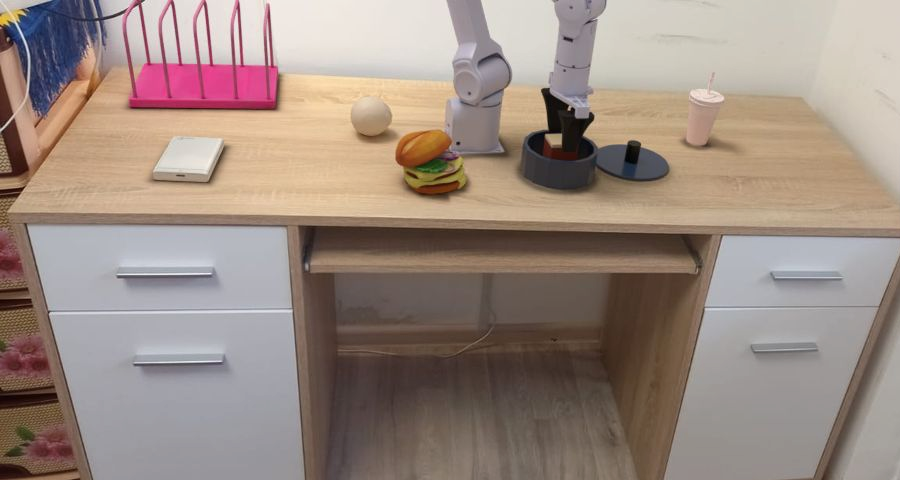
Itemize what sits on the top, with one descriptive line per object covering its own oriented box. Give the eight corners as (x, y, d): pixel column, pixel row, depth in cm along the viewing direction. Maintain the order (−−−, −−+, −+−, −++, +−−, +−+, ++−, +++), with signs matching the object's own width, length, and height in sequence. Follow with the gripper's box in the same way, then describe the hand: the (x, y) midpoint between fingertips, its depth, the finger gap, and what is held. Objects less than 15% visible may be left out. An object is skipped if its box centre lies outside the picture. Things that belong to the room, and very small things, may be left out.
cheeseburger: (459, 203, 129) (447, 144, 124) (395, 205, 132) (381, 148, 127) (474, 173, 138) (463, 117, 132) (413, 176, 140) (400, 122, 135)
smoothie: (716, 141, 158) (734, 71, 151) (708, 154, 153) (726, 82, 146) (683, 133, 160) (699, 63, 152) (674, 145, 155) (691, 73, 148)
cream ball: (394, 141, 146) (395, 105, 142) (352, 142, 144) (352, 106, 140) (389, 125, 151) (390, 90, 147) (348, 126, 149) (348, 90, 146)
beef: (547, 178, 138) (552, 144, 135) (540, 167, 142) (545, 133, 138) (573, 177, 140) (578, 143, 136) (566, 166, 143) (571, 133, 139)
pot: (532, 194, 134) (536, 163, 131) (511, 159, 144) (515, 130, 141) (603, 190, 138) (608, 161, 134) (578, 157, 147) (583, 128, 144)
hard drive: (172, 135, 137) (151, 170, 126) (223, 138, 137) (207, 172, 127) (174, 144, 137) (153, 180, 127) (224, 147, 138) (208, 182, 128)
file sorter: (145, 71, 161) (133, -10, 153) (278, 74, 166) (273, -5, 158) (129, 108, 147) (114, 20, 139) (275, 109, 152) (269, 25, 144)
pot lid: (608, 185, 139) (612, 161, 137) (582, 150, 150) (586, 127, 147) (679, 182, 143) (685, 159, 140) (649, 148, 153) (654, 126, 151)
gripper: (613, 79, 125) (599, 160, 133) (581, 45, 137) (570, 122, 144) (569, 79, 123) (557, 161, 131) (540, 45, 135) (531, 123, 142)
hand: (561, 141), depth 137 cm, fingers open, 7 cm apart
